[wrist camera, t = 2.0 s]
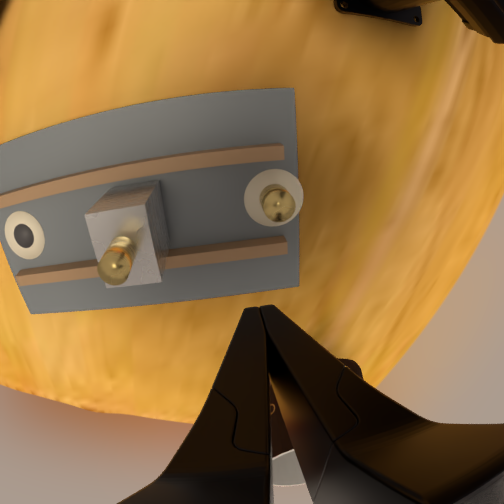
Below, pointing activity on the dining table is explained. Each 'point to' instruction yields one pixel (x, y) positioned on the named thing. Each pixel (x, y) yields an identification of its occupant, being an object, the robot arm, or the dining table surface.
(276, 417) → the coffee mug
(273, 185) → the fixed brass pin
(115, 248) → the sliding pin block
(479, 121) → the dining table surface
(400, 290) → the dining table surface
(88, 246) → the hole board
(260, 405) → the robot arm
